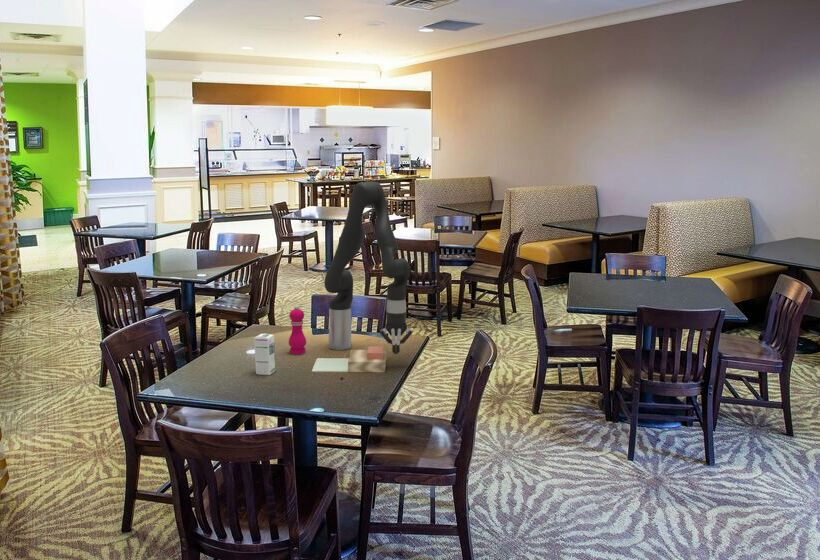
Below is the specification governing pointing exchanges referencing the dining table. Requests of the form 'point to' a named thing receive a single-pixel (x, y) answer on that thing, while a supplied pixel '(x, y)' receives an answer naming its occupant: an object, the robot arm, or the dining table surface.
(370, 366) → the board
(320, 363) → the mat
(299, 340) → the pepper mill
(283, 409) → the dining table surface
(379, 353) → the tile
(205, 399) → the dining table surface
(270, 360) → the syrup box
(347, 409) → the dining table surface
